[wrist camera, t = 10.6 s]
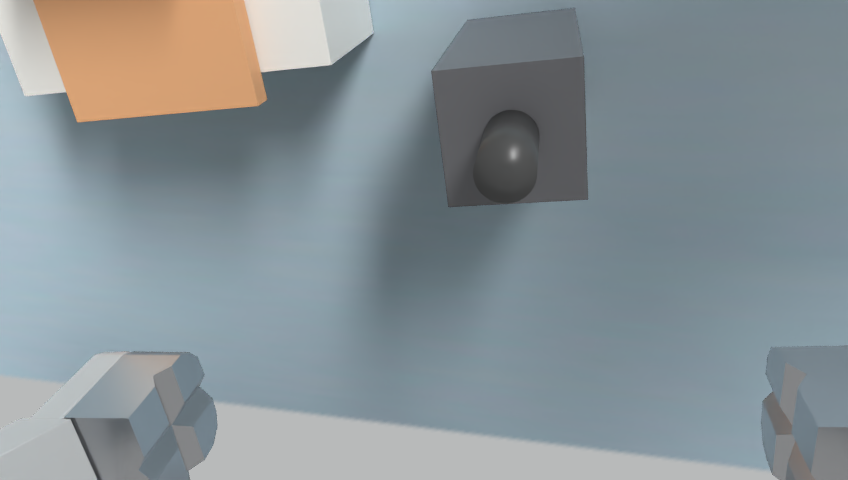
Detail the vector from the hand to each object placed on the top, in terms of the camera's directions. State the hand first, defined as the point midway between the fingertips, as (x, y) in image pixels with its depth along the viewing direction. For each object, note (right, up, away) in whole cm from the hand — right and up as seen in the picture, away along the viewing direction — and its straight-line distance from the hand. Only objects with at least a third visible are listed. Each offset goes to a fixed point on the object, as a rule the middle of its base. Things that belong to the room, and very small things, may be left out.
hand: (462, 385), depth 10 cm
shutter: (-10, +10, +13) cm, 19 cm away
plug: (+4, +9, +18) cm, 20 cm away
